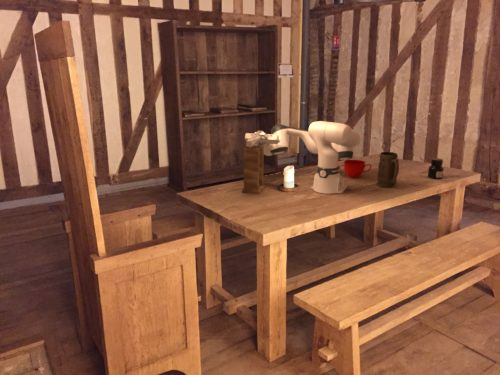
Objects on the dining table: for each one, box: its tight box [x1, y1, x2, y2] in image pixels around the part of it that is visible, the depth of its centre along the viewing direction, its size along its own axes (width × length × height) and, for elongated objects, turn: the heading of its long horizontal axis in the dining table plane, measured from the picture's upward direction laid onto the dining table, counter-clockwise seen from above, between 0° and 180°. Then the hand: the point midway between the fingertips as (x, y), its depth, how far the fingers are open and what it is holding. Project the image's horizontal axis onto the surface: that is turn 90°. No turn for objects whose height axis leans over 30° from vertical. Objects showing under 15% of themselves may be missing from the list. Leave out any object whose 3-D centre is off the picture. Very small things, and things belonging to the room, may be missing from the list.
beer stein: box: [376, 151, 400, 189], centre depth 258 cm, size 15×11×20 cm
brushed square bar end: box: [245, 130, 264, 147], centre depth 245 cm, size 26×3×3 cm, turn 165°
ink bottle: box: [427, 157, 444, 180], centre depth 280 cm, size 10×9×12 cm
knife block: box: [241, 142, 266, 195], centre depth 247 cm, size 13×10×27 cm
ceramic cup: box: [343, 159, 372, 179], centre depth 280 cm, size 13×17×10 cm
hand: (259, 133), depth 254 cm, fingers closed on brushed square bar end, 3 cm apart
